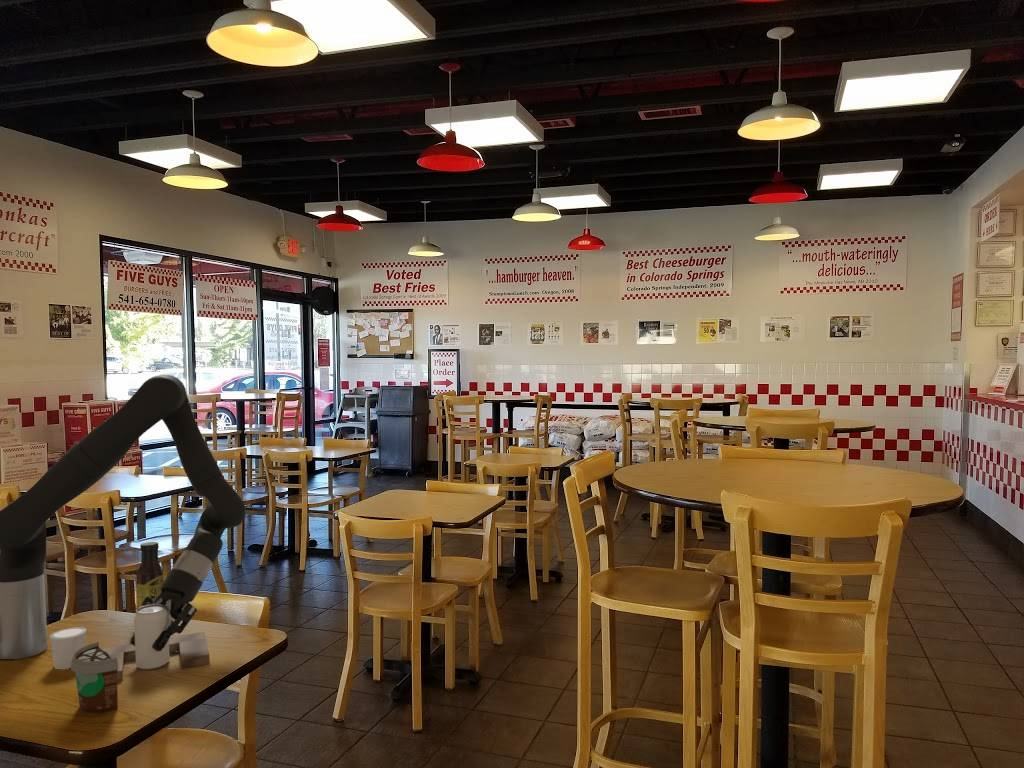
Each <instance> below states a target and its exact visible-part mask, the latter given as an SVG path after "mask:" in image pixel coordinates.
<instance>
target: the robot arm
mask: <svg viewBox="0 0 1024 768" xmlns="http://www.w3.org/2000/svg"><path fill="white" fill-rule="evenodd" d="M160 421H163V423H164V425H165V426H166V427H167V430H168V431H169V433H170V435H171V438H172V440H173V442H174V443H173V444H174V445H175V448H176V449H175V450H176V452H177V454H178V457H179V461H180V463H181V466H182V469H183V471H184V472H185V475H186V477H187V479H188V481H189V482H190V484H191V486H192V488H193V491H194V492H195V493H196V494H197V495H198V496H200V497H203V498H206V500H208V502H209V504H208V505H207V506H206V507H205V508H204V509H203V511H202V513H201V515H200V518H199V520H198V522H197V525H196V528H195V531H194V535H193V536H192V538H191V539H190V541H189V542H188V544H187V546H186V547H185V549H184V551H182V554H181V555H180V556H179V557H178V558H177V560H176V561H175V563H174V565H173V566H172V568H171V570H170V571H169V573H168V574H167V576H166V577H165V578H164V582H163V584H162V586H161V589H162V592H161V594H160V595H159V596H158V597H157V598H156V599H151V598H150V597H148V596H147V597H146V598H145V599H144V601H143V603H142V605H141V607H143V606H147V605H153V604H161V605H164V606H165V610H166V611H167V622H166V624H165V627H164V629H163V630H164V631H162V633H161V634H160V636H159V637H158V638H157V639H156V640H155V642H154V644H153V645H152V648H153V649H155V650H156V651H161V650H162V649H163V648H164V647H165V645H166V643H167V642H168V640H169V638H170V637H172V636H174V635H175V634H179V635H180V634H181V633H183V631H184V630H185V628H186V627H187V626H188V624H189V623H190V621H191V620H192V619H193V618H194V615H195V614H196V613H197V611H198V608H196V607H195V606H194V605H193V604H192V603H191V602H193V601H194V600H195V598H196V596H197V594H198V593H199V591H200V589H201V588H202V586H203V585H204V583H205V581H206V579H207V578H208V575H209V573H210V572H211V570H212V569H211V568H212V566H213V564H214V563H215V561H216V559H218V556H219V554H220V553H221V550H222V548H223V546H224V543H223V542H224V541H223V540H222V536H223V534H224V532H225V530H226V529H232V528H235V527H238V526H240V525H241V524H242V523H243V522H244V521H245V519H246V514H247V513H246V512H247V511H246V506H245V504H244V501H243V500H242V498H241V497H240V495H239V494H238V493H237V492H236V490H235V489H234V488H233V486H232V485H231V484H230V483H229V482H228V481H227V480H226V479H225V478H224V476H223V473H222V471H221V469H220V467H219V465H218V463H217V460H216V459H215V457H214V455H213V454H212V451H211V449H210V448H209V446H208V444H207V442H206V440H205V438H204V437H203V435H202V432H201V430H200V428H199V425H198V423H197V421H196V419H195V416H194V412H193V411H192V408H191V404H190V401H189V398H188V394H187V391H186V387H185V385H184V383H183V382H182V381H181V380H180V379H179V378H178V377H176V376H174V375H171V374H158V375H155V376H151V377H150V378H148V379H146V380H145V381H144V382H143V383H142V384H141V385H140V386H139V388H138V389H137V390H136V392H134V394H132V396H131V397H130V398H129V399H128V400H127V401H126V402H125V403H124V404H123V405H122V407H120V409H119V410H117V411H116V412H115V413H114V414H113V415H112V416H110V417H109V418H107V419H106V420H104V421H103V422H102V423H100V424H98V425H97V426H96V427H95V428H93V429H92V430H91V431H90V432H89V433H87V434H86V435H85V436H84V437H82V438H81V439H79V440H78V441H77V442H76V443H75V444H74V445H72V447H71V448H69V449H68V450H67V451H65V453H64V454H63V455H62V456H61V457H60V458H59V459H58V460H57V461H56V462H55V463H54V464H53V465H52V466H50V468H49V469H48V470H47V471H46V472H45V473H44V474H43V475H42V476H41V477H40V478H39V480H37V482H35V484H33V485H32V486H31V487H30V488H29V489H28V490H27V491H25V492H24V493H23V494H21V495H20V496H19V497H18V498H16V499H15V500H13V502H11V503H9V504H8V505H6V506H5V507H4V508H2V509H1V510H0V659H2V660H3V659H14V660H20V659H24V658H25V659H26V658H29V657H33V656H36V655H39V654H41V653H43V652H44V651H45V650H47V648H48V633H47V631H48V630H47V629H48V627H47V609H46V608H47V605H46V588H45V587H46V585H45V562H46V558H47V526H46V525H47V524H46V522H47V521H48V520H50V518H51V517H52V516H53V515H54V514H55V513H56V512H57V511H58V510H60V509H62V508H63V507H64V506H65V505H67V504H69V503H70V502H72V501H73V500H74V499H76V498H77V497H79V496H80V495H81V494H83V493H85V492H86V491H88V489H90V488H91V487H93V486H94V485H95V484H96V483H97V482H99V481H100V480H101V479H102V478H104V476H105V475H107V474H108V473H109V472H110V471H111V470H112V469H113V468H114V467H116V465H118V464H119V462H121V460H122V459H123V458H124V457H125V455H126V454H127V453H128V452H129V451H130V449H131V448H132V447H133V446H134V444H136V442H137V440H138V439H140V437H142V436H143V434H145V433H147V432H148V431H149V430H150V429H151V428H153V427H155V425H156V424H157V423H159V422H160ZM129 644H132V645H134V646H135V632H134V633H133V635H132V636H131V638H130V642H129Z"/></svg>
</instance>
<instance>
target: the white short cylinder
mask: <svg viewBox="0 0 1024 768" xmlns="http://www.w3.org/2000/svg"><path fill="white" fill-rule="evenodd" d="M86 639H87V629H86V628H85V627H81V626H80V627H79V626H77V627H68V628H63V629H60V630H59V629H58V630H57V631H54V632H52V633H51V634H50V635H49V643H50V644H49V645H50V650H51V655H52V663H53V668H54V667H55V668H57V669H67V670H69V669H68V668H71V662H72V658H73V656H74V654H75V652H76V651H78V650H79V649H81V648H83V647H85V646H87V645H86V644H87V643H86V641H87V640H86ZM55 668H54V669H55Z"/></svg>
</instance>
